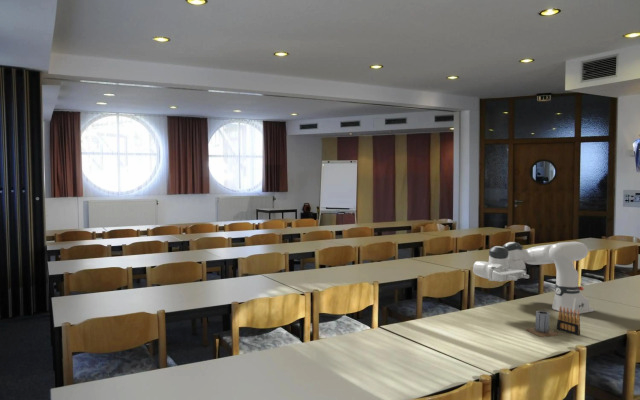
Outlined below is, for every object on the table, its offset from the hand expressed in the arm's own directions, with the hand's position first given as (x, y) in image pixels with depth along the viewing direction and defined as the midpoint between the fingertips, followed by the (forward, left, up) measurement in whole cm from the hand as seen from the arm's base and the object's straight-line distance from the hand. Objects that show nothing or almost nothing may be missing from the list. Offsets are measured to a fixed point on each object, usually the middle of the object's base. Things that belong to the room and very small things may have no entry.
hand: (522, 277), depth 251 cm
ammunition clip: (-17, +13, -25) cm, 33 cm away
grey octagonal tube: (-3, +11, -24) cm, 27 cm away
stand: (-3, +11, -25) cm, 27 cm away
